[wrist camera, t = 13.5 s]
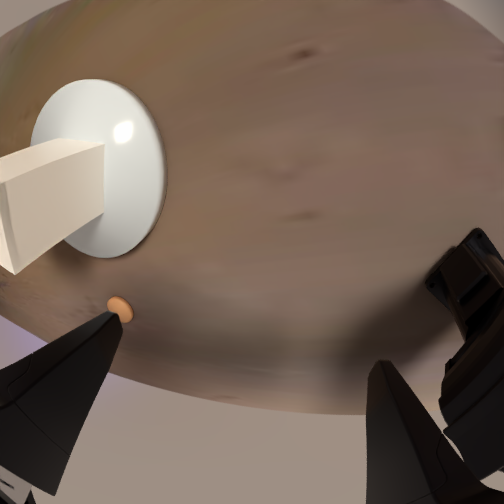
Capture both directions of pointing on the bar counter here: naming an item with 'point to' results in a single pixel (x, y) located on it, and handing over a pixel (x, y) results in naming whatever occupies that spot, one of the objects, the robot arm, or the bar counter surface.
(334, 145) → the bar counter surface
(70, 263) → the bar counter surface
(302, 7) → the bar counter surface
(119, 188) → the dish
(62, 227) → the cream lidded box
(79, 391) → the robot arm
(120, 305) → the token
